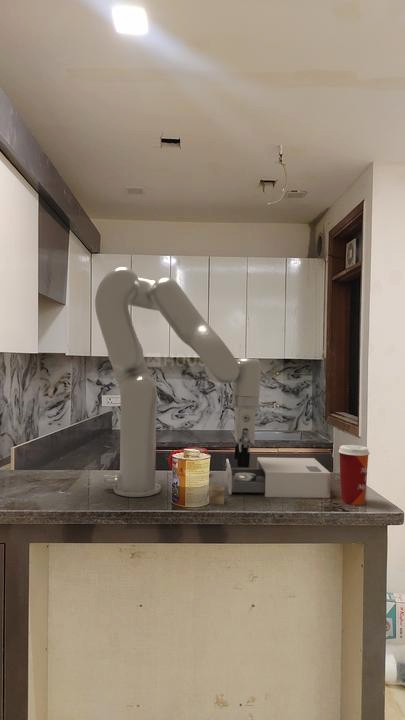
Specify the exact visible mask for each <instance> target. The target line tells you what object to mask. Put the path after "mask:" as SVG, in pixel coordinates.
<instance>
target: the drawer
mask: <svg viewBox="0 0 405 720" xmlns="http://www.w3.org/2000/svg"><path fill="white" fill-rule="evenodd" d="M224 469H225V482H226V485H227V486H226V487H227V491H228V495H230V496H231V495H232V493H263V492H265V472H264V471H263V469H257V468H231V464H230V461H229V458H226V460H225V464H224ZM236 473H253V474H255V475H256V482H235V474H236Z"/></svg>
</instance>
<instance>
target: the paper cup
mask: <svg viewBox="0 0 405 720" xmlns="http://www.w3.org/2000/svg"><path fill="white" fill-rule="evenodd" d="M337 452H338V453H339V454H338V455H339V471H340V473H339V474H340V477H339V478H340V496H341V497H340V498H341V502H342V503H344V504H345V505H351V506H362V505H365V499H366V492H367V490H366V489H367V488H366V487H367V479H368V477H367V476H368V466H369V465H368V463H369V455H370V453H371V452H369V448H368V447H366V446H364V445H359V444H358V445H356V444H344V445H343V444H342V445H340V446H339V449H338V451H337Z"/></svg>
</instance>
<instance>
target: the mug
mask: <svg viewBox="0 0 405 720" xmlns="http://www.w3.org/2000/svg"><path fill="white" fill-rule="evenodd" d="M184 449H196V450H199V451H201V452H202V453H205V454H207V455H208V449H207V448H204V447H196V446H191V447H184V448H182V449H176V450H174V451H173V452H172V453H170V455H169V457H168V465H169V467H170V469H171V470H172V455H173V454H176V453H180V452H183V451H184Z"/></svg>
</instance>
